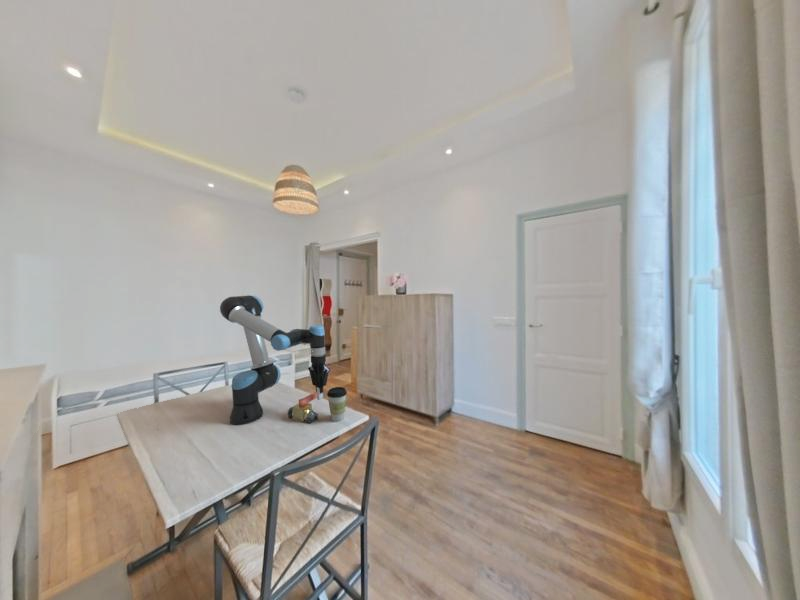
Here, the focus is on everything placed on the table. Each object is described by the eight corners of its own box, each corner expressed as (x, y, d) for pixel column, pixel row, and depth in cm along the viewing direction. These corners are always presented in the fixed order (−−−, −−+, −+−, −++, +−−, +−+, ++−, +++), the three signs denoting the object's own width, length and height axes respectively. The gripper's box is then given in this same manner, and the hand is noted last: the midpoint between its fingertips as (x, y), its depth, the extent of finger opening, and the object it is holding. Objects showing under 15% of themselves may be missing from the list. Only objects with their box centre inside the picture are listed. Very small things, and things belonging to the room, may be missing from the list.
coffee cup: (343, 424, 134) (342, 394, 133) (324, 422, 136) (323, 393, 135) (350, 414, 144) (349, 387, 143) (333, 413, 145) (332, 385, 145)
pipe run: (287, 419, 141) (286, 404, 141) (295, 413, 147) (295, 400, 146) (310, 425, 135) (309, 410, 134) (318, 419, 140) (318, 405, 139)
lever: (302, 406, 138) (302, 401, 138) (297, 405, 139) (297, 400, 139) (321, 396, 151) (321, 391, 150) (316, 395, 152) (316, 390, 152)
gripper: (303, 355, 143) (305, 399, 144) (322, 357, 137) (324, 403, 139) (313, 352, 149) (315, 394, 151) (332, 354, 144) (334, 397, 145)
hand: (320, 398), depth 145 cm, fingers closed
